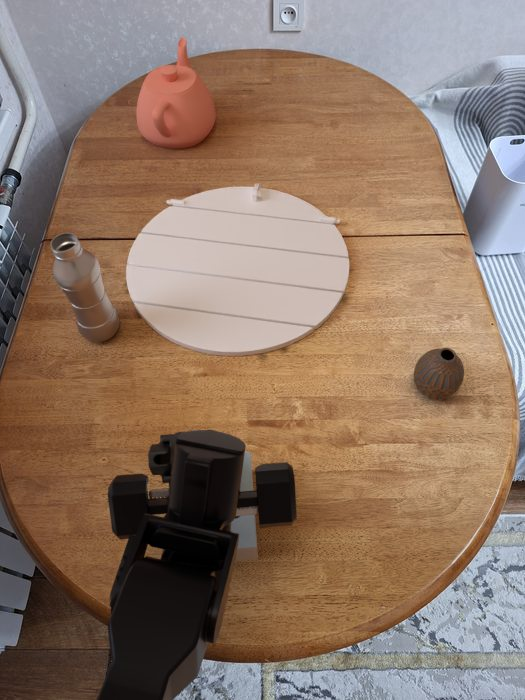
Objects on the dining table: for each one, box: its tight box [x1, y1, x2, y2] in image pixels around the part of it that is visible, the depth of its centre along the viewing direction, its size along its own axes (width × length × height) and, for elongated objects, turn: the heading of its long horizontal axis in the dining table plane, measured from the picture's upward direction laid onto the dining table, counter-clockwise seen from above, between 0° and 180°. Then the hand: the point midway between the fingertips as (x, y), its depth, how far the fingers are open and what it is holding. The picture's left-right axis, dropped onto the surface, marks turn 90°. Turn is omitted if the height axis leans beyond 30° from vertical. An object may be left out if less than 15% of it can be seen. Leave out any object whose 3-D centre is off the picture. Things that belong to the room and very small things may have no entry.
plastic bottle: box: [50, 232, 120, 343], centre depth 82 cm, size 6×7×20 cm
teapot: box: [136, 36, 217, 149], centre depth 116 cm, size 25×17×13 cm
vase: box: [413, 347, 465, 401], centre depth 79 cm, size 7×7×9 cm
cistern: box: [231, 451, 259, 563], centre depth 69 cm, size 12×10×8 cm
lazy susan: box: [125, 182, 350, 357], centre depth 97 cm, size 40×39×3 cm
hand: (208, 468), depth 65 cm, fingers closed
